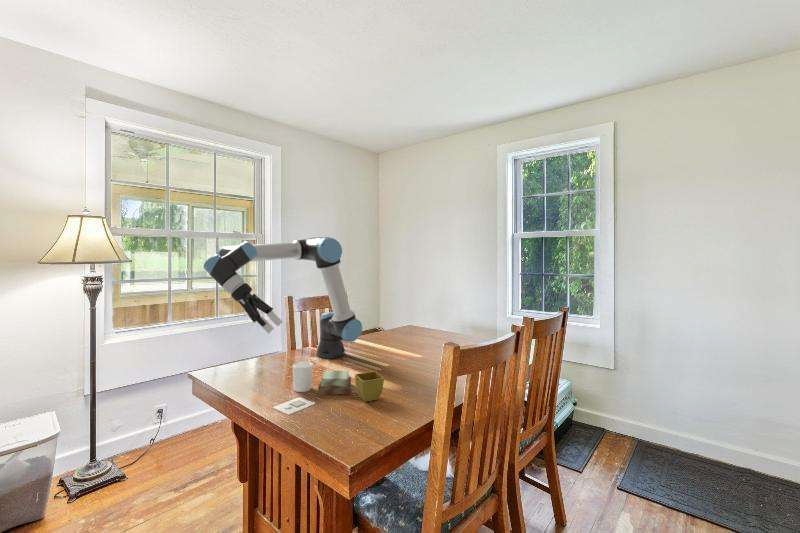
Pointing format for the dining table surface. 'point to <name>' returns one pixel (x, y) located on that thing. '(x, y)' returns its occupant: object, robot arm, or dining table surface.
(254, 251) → the robot arm
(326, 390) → the tower base
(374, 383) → the flower pot
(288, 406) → the page
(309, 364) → the white cup
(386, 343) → the dining table surface
